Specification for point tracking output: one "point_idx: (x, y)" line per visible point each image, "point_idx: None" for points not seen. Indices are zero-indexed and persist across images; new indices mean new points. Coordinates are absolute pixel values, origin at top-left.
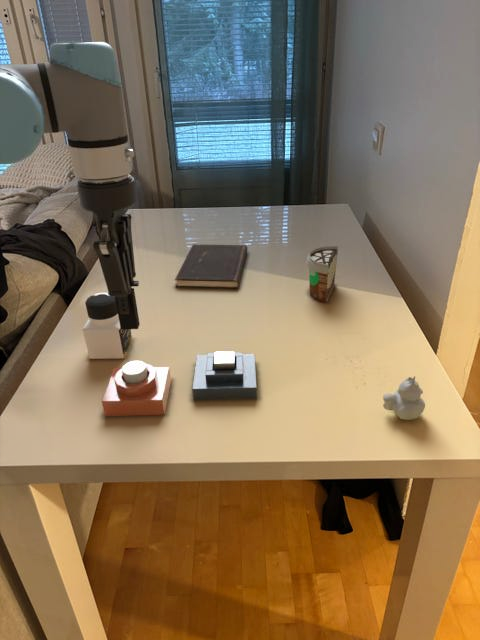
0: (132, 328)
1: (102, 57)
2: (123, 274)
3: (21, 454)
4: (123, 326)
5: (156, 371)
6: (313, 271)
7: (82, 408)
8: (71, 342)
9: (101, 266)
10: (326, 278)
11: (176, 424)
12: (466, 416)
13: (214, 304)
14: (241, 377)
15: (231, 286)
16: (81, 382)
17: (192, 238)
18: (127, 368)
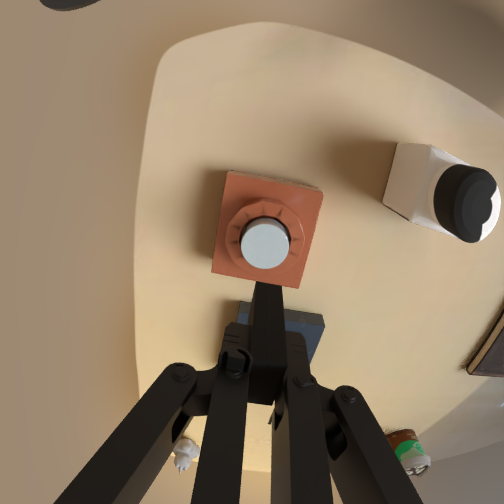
0: (250, 308)
1: None
2: (160, 468)
3: (174, 61)
4: (254, 292)
5: (291, 268)
6: (404, 458)
7: (259, 131)
8: (449, 116)
9: (78, 474)
10: None
11: (193, 273)
12: None
13: (453, 342)
14: None
15: (472, 363)
16: (333, 126)
17: None
18: (263, 234)
